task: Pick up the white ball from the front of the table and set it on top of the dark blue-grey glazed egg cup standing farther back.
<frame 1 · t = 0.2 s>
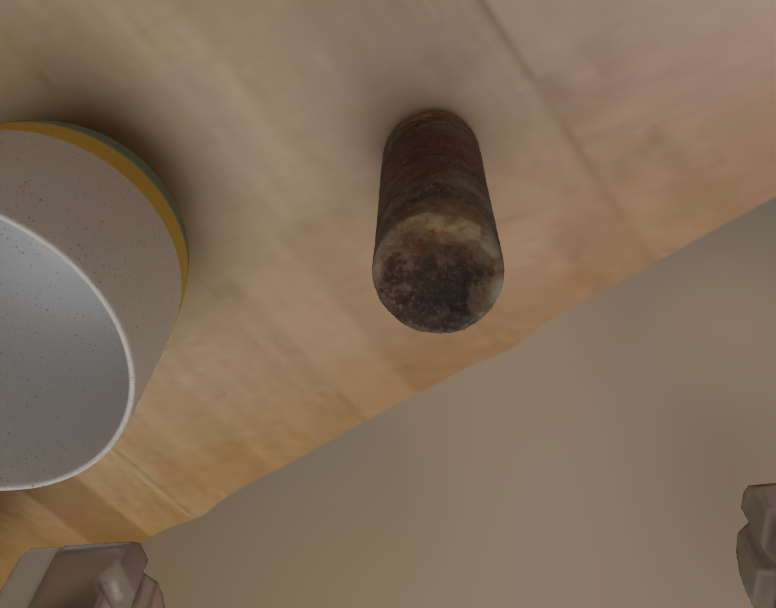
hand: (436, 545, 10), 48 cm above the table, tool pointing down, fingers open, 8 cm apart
dark brown cylinder: (429, 155, 57), on the table
planter: (95, 209, 59), on the table
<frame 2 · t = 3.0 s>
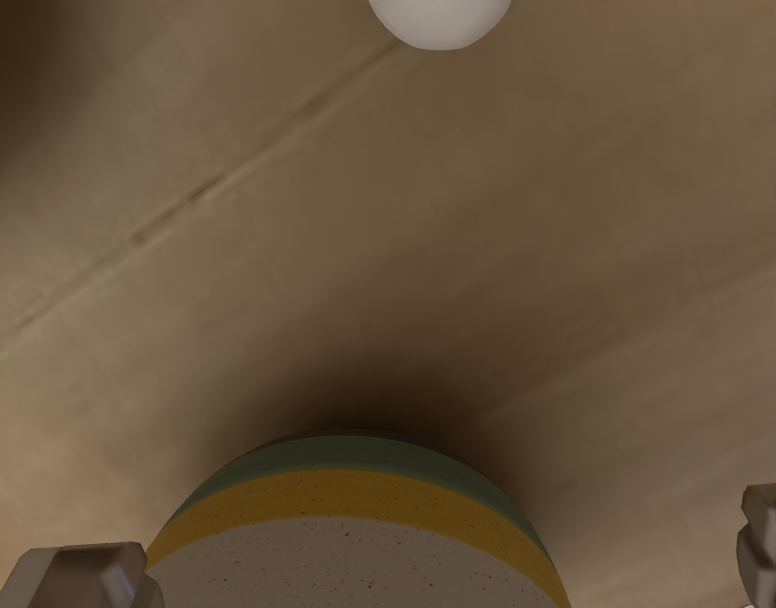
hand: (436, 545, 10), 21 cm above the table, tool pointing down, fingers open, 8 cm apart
planter: (362, 500, 38), on the table
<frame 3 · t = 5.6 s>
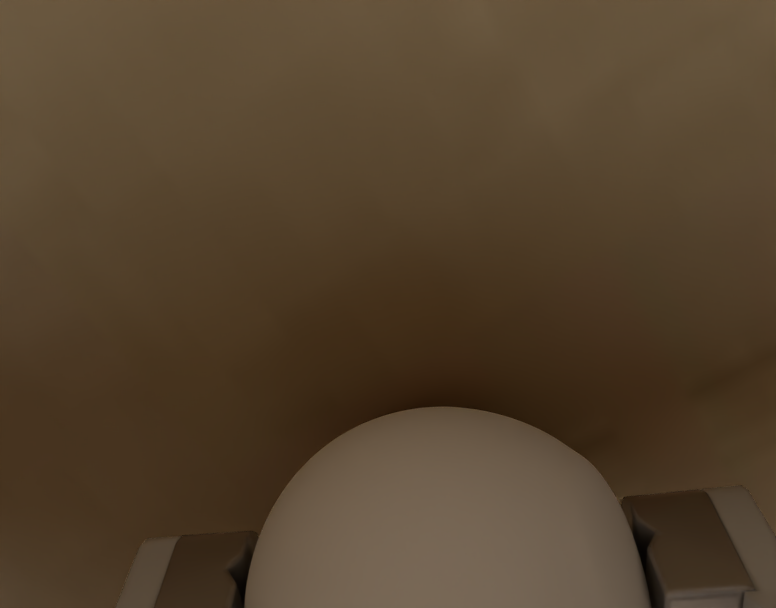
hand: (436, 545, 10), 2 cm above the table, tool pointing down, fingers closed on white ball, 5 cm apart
white ball: (433, 454, 12), on the table, touching gripper
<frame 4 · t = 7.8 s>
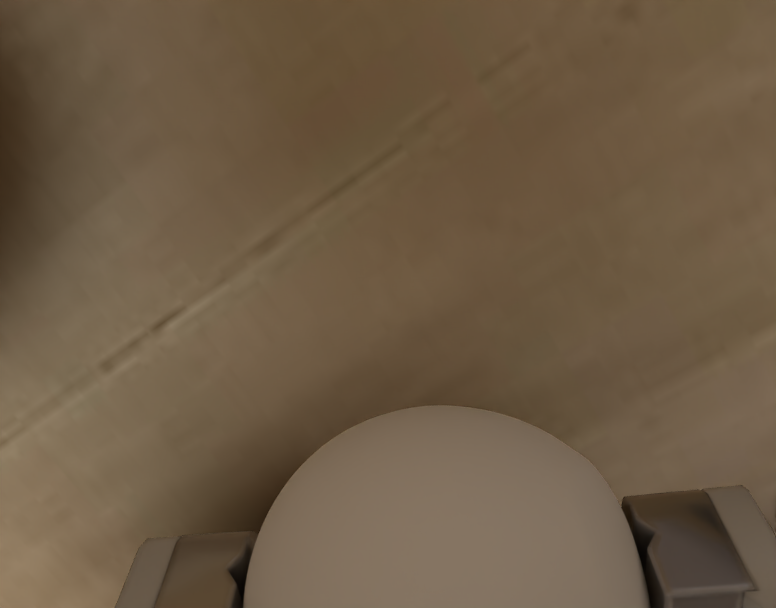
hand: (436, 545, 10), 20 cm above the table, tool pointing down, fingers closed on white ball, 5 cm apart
white ball: (432, 453, 12), point 18 cm above the table, touching gripper
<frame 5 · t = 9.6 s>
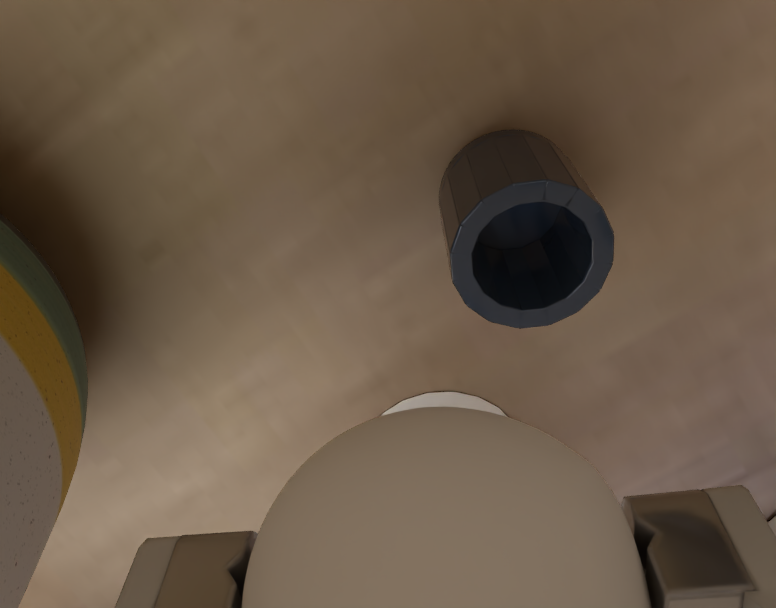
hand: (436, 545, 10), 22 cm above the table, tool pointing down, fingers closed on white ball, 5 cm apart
egg cup: (506, 196, 31), on the table
white ball: (432, 454, 12), point 21 cm above the table, touching gripper
wineglass: (441, 453, 39), on the table
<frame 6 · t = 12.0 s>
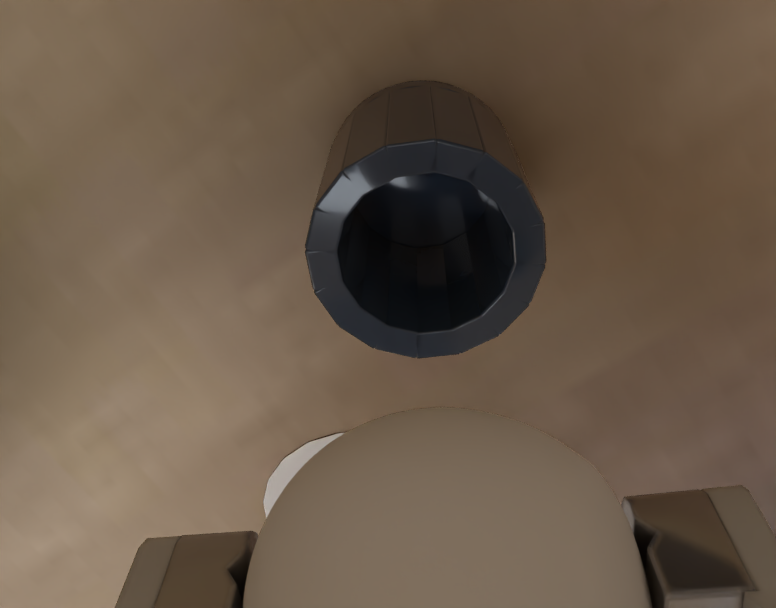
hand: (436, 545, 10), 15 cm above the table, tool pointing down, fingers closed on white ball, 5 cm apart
egg cup: (421, 174, 23), on the table
white ball: (433, 455, 12), point 13 cm above the table, touching gripper
wineglass: (364, 507, 30), on the table
when the fingers open (7 cm above the table, at t = 13.9 s): white ball stays where it is, resting on egg cup.
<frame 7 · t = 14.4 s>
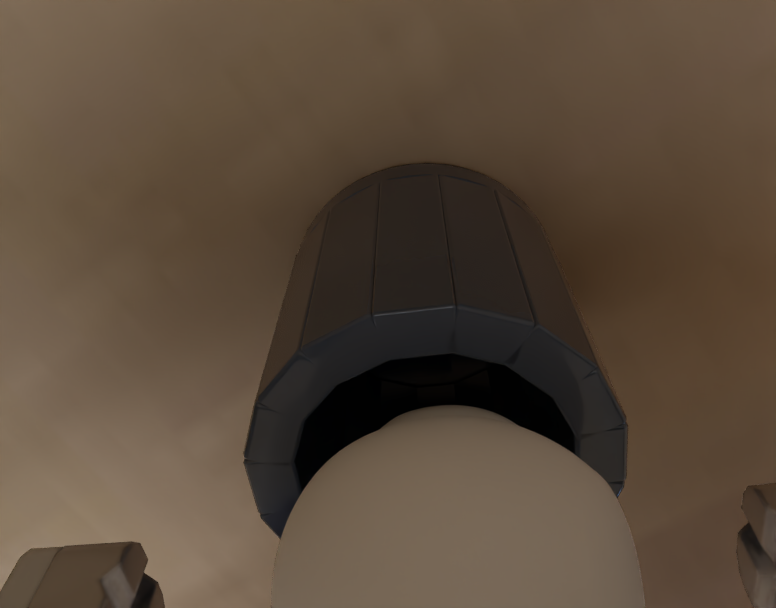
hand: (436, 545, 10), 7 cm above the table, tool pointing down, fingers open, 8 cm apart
egg cup: (424, 287, 16), on the table
white ball: (442, 425, 12), point 5 cm above the table, touching egg cup
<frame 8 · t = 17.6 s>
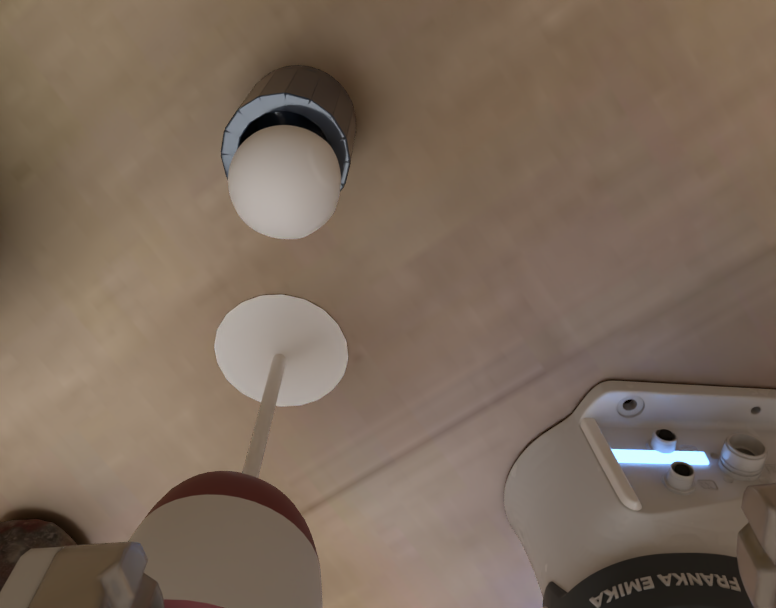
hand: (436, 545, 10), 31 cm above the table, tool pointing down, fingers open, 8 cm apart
dark brown cylinder: (41, 540, 54), on the table
egg cup: (301, 121, 39), on the table
white ball: (291, 148, 34), point 5 cm above the table, touching egg cup
wineglass: (281, 351, 46), on the table
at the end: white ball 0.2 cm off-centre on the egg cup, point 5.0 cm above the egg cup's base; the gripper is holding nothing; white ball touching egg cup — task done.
